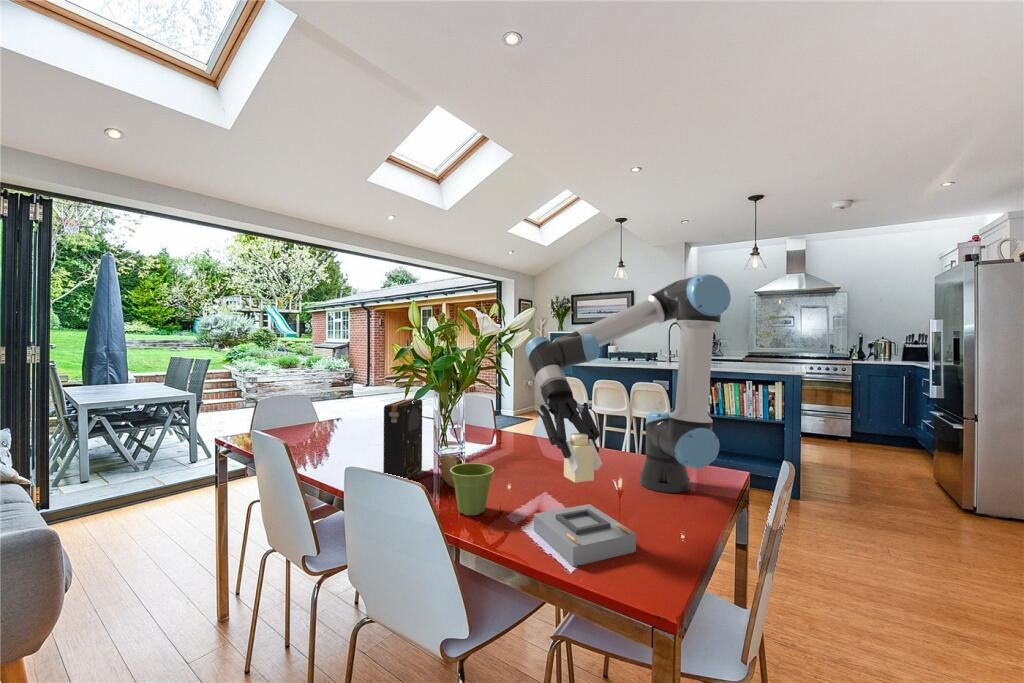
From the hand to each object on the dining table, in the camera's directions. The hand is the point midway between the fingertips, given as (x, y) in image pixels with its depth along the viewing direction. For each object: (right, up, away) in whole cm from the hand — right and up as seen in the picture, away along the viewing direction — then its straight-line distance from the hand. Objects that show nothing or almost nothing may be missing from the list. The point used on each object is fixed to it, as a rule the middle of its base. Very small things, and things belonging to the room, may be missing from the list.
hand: (587, 468), depth 97 cm
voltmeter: (-53, -17, +47) cm, 73 cm away
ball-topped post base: (-1, -17, +3) cm, 18 cm away
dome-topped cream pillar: (-1, -3, +4) cm, 5 cm away
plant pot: (-28, -17, +19) cm, 38 cm away
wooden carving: (-35, -17, +38) cm, 54 cm away
